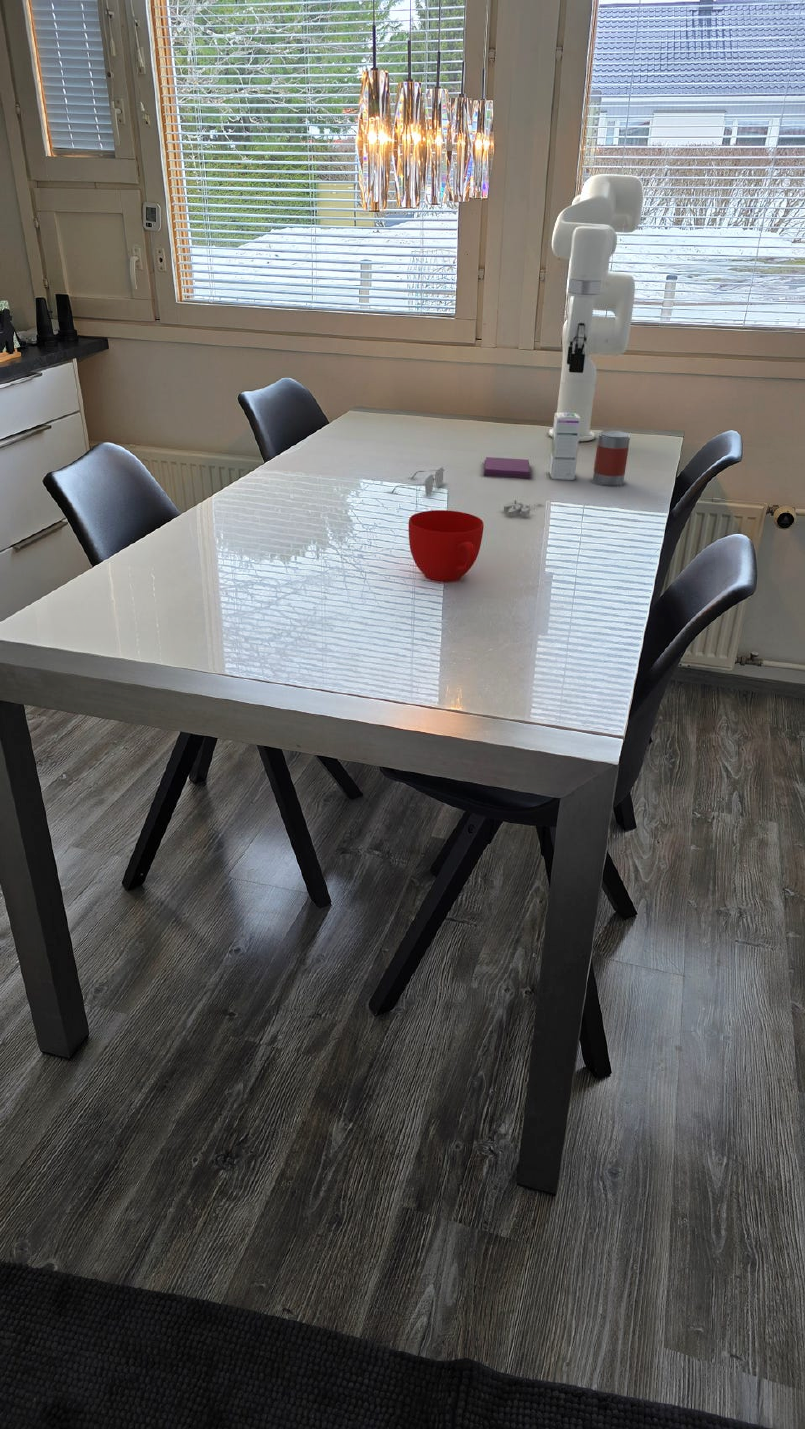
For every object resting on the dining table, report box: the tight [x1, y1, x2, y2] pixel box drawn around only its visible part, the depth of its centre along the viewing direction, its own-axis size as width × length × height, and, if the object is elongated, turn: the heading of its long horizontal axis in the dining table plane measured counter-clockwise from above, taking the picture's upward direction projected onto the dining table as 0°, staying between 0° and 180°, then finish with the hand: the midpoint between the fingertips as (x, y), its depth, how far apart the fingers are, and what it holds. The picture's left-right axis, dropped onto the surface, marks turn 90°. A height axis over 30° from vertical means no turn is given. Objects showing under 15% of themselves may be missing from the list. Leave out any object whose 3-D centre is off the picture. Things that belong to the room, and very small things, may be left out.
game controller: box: [503, 499, 541, 518], centre depth 213 cm, size 6×12×3 cm, turn 158°
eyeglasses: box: [391, 467, 445, 496], centre depth 226 cm, size 14×8×4 cm, turn 160°
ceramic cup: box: [408, 509, 485, 583], centre depth 173 cm, size 13×17×10 cm
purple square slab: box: [483, 456, 531, 480], centre depth 242 cm, size 12×11×2 cm
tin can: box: [592, 430, 631, 487], centre depth 235 cm, size 7×7×11 cm
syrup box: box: [548, 412, 581, 481], centre depth 237 cm, size 6×6×14 cm
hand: (574, 368), depth 231 cm, fingers open, 9 cm apart
